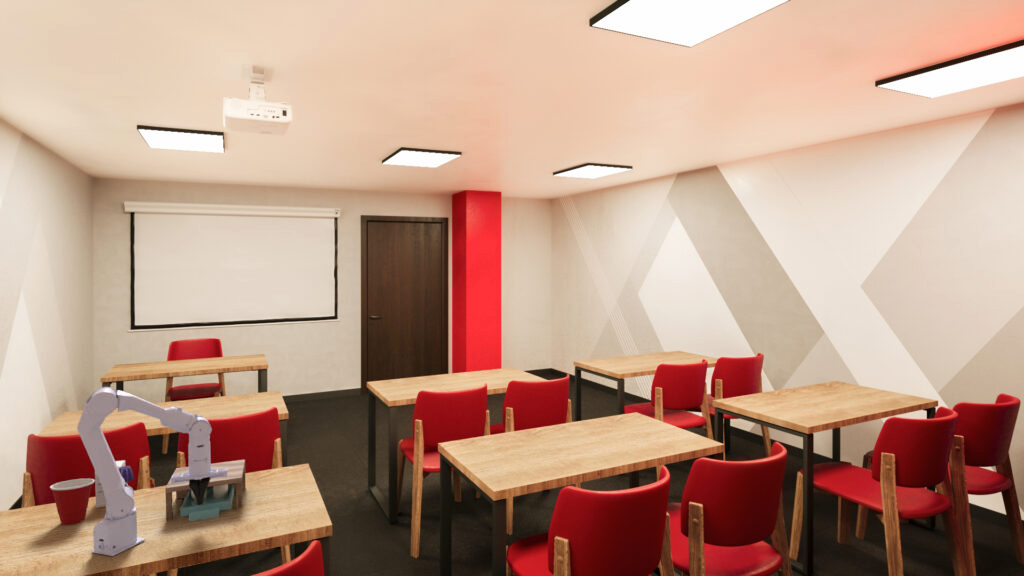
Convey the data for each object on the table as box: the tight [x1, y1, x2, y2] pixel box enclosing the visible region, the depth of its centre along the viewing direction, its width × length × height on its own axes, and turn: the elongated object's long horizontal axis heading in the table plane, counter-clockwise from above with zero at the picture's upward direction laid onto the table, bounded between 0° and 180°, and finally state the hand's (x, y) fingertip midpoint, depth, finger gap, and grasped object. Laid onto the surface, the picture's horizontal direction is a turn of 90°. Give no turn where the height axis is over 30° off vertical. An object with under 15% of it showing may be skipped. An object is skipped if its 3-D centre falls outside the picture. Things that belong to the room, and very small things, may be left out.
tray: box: [179, 484, 235, 522], centre depth 180 cm, size 21×14×6 cm, turn 23°
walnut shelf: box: [164, 459, 247, 521], centre depth 182 cm, size 20×21×10 cm
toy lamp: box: [119, 465, 135, 486], centre depth 169 cm, size 5×5×17 cm
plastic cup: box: [49, 478, 95, 526], centre depth 170 cm, size 11×11×12 cm
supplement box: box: [94, 459, 126, 508], centre depth 184 cm, size 7×7×13 cm
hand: (200, 503), depth 164 cm, fingers closed
